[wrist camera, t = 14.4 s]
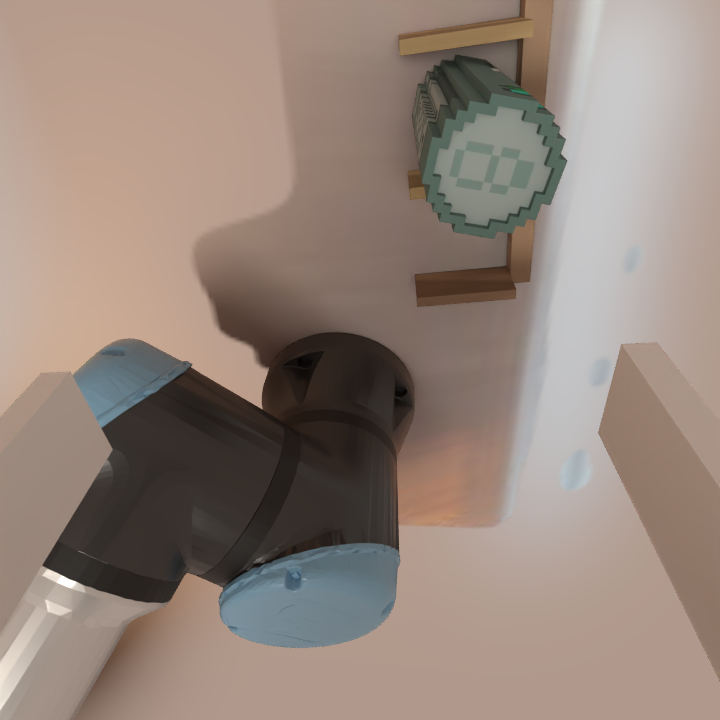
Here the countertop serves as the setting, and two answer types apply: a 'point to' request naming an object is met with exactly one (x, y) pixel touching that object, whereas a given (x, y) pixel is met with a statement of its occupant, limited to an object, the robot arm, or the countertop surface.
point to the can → (484, 148)
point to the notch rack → (533, 79)
